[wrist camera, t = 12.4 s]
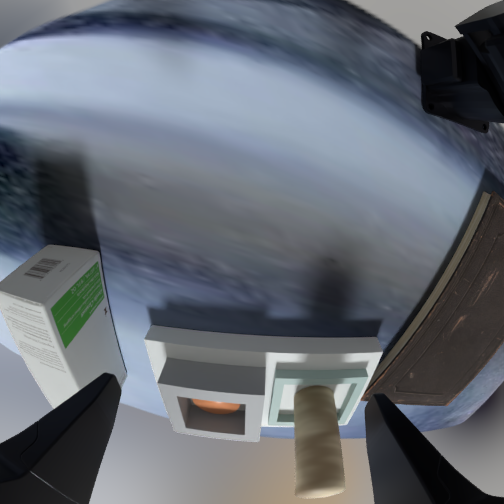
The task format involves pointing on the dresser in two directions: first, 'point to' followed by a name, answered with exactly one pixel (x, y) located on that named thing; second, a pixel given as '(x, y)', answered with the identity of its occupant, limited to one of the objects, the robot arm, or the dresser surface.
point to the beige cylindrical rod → (317, 444)
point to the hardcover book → (452, 321)
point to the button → (216, 406)
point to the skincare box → (62, 320)
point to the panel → (253, 377)
